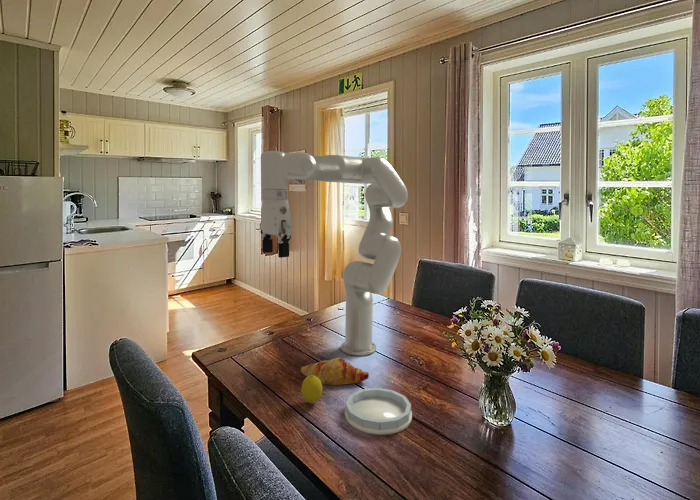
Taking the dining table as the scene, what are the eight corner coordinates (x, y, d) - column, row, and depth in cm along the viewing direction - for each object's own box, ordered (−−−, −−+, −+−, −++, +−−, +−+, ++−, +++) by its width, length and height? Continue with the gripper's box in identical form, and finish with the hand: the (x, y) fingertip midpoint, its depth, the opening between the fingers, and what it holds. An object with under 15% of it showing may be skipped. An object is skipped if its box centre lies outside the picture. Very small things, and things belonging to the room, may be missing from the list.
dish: (355, 393, 114) (355, 383, 114) (416, 403, 109) (416, 392, 109) (335, 427, 98) (335, 415, 97) (406, 440, 93) (406, 428, 93)
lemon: (319, 410, 105) (319, 381, 104) (298, 407, 106) (298, 378, 105) (324, 399, 111) (324, 371, 110) (305, 397, 112) (305, 369, 111)
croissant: (298, 389, 123) (292, 373, 118) (307, 362, 131) (302, 346, 126) (367, 397, 118) (364, 380, 114) (372, 368, 126) (370, 351, 122)
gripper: (302, 196, 112) (302, 257, 115) (272, 195, 126) (272, 249, 128) (277, 196, 108) (278, 260, 110) (249, 195, 121) (250, 252, 124)
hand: (275, 254), depth 119 cm, fingers open, 9 cm apart
